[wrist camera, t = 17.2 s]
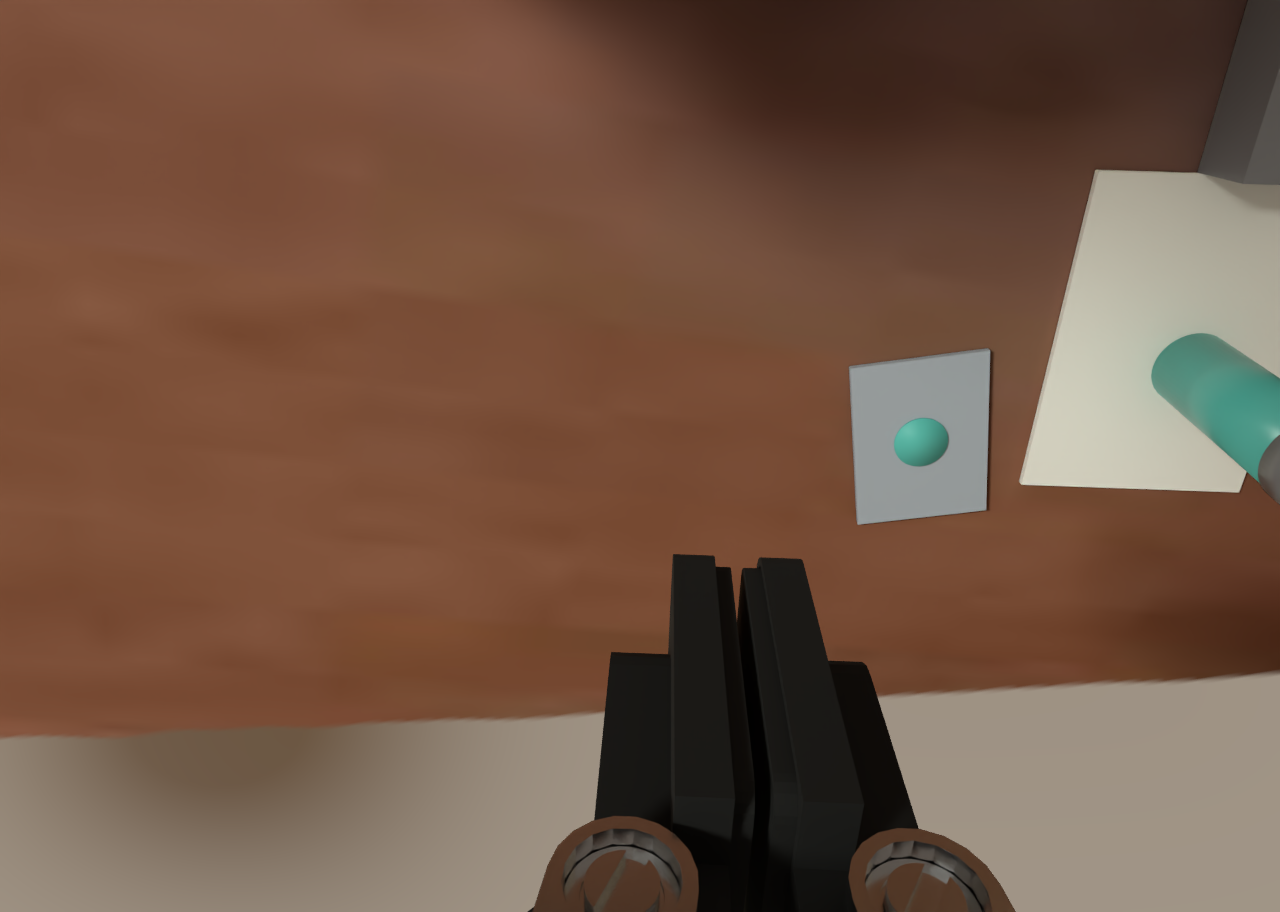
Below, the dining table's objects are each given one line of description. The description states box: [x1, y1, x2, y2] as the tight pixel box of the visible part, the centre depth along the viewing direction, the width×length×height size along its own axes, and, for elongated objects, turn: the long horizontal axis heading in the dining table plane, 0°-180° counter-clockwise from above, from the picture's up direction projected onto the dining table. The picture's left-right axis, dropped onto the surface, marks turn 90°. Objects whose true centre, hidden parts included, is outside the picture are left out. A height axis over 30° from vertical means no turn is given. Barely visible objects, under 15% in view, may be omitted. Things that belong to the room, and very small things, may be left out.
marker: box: [1151, 333, 1280, 505], centre depth 33 cm, size 3×3×10 cm
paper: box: [1019, 170, 1280, 492], centre depth 37 cm, size 14×10×1 cm
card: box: [849, 348, 990, 525], centre depth 39 cm, size 8×6×1 cm
